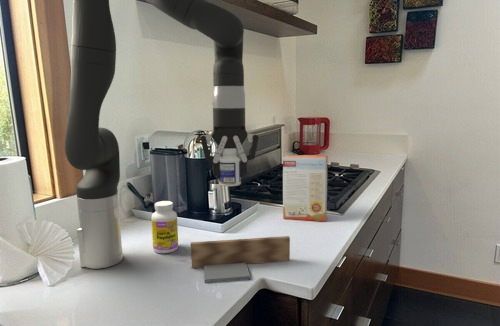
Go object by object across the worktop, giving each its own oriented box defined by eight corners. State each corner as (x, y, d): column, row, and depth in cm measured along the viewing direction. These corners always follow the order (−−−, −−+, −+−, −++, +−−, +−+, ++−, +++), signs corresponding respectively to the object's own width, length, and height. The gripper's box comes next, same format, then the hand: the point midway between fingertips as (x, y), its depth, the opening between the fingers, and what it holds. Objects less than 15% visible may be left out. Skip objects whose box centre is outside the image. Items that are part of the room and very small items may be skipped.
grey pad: (204, 283, 82) (204, 279, 82) (204, 268, 89) (204, 265, 89) (250, 279, 84) (250, 276, 84) (246, 265, 91) (246, 262, 91)
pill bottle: (229, 180, 94) (228, 145, 93) (245, 183, 91) (245, 147, 89) (214, 184, 90) (213, 147, 89) (230, 187, 87) (230, 149, 85)
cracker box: (326, 216, 127) (328, 155, 123) (325, 222, 121) (326, 158, 117) (285, 213, 130) (285, 154, 127) (282, 219, 125) (282, 156, 121)
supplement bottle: (153, 255, 97) (150, 207, 95) (152, 246, 103) (149, 201, 101) (179, 252, 99) (177, 205, 97) (177, 243, 105) (175, 198, 103)
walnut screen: (191, 268, 90) (190, 244, 89) (191, 265, 91) (190, 242, 90) (289, 260, 93) (289, 237, 92) (288, 258, 94) (288, 236, 93)
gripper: (198, 107, 83) (200, 182, 86) (262, 106, 85) (262, 179, 88) (197, 106, 90) (199, 175, 93) (256, 105, 92) (256, 173, 95)
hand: (230, 177), depth 90 cm, fingers closed on pill bottle, 5 cm apart
